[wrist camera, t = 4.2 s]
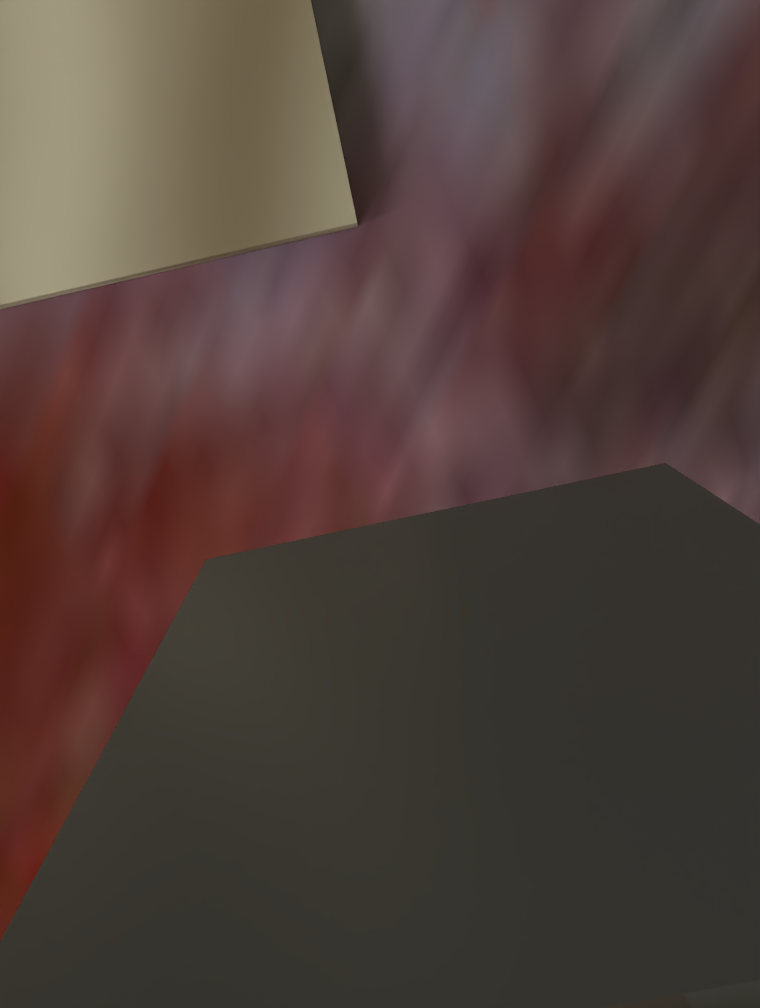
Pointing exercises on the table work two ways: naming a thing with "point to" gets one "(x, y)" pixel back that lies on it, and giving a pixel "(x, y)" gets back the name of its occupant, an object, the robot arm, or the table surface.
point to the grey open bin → (432, 773)
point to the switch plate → (159, 138)
